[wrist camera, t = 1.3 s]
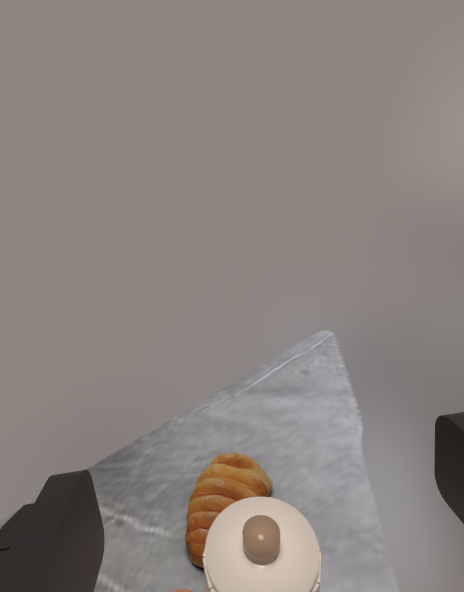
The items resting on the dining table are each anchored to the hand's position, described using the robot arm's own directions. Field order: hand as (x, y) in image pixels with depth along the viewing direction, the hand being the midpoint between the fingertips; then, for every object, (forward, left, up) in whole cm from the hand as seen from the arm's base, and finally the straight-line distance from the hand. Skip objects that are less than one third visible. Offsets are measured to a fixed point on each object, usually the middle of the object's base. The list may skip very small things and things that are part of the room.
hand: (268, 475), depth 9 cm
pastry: (+3, +17, -24) cm, 30 cm away
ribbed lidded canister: (+2, +6, -24) cm, 25 cm away
